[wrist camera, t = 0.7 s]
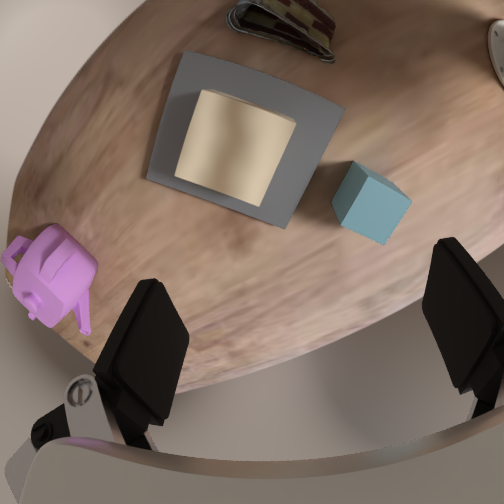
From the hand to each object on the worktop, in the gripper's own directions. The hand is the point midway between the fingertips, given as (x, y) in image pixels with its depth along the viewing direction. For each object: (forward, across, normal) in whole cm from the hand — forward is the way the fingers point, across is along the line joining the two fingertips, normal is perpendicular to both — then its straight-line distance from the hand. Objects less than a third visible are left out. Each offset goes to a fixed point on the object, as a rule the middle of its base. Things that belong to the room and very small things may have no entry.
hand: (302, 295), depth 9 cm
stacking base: (+24, +5, -2) cm, 25 cm away
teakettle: (+25, +40, +11) cm, 49 cm away
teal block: (+25, -9, +7) cm, 27 cm away
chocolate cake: (+25, -4, -15) cm, 29 cm away
